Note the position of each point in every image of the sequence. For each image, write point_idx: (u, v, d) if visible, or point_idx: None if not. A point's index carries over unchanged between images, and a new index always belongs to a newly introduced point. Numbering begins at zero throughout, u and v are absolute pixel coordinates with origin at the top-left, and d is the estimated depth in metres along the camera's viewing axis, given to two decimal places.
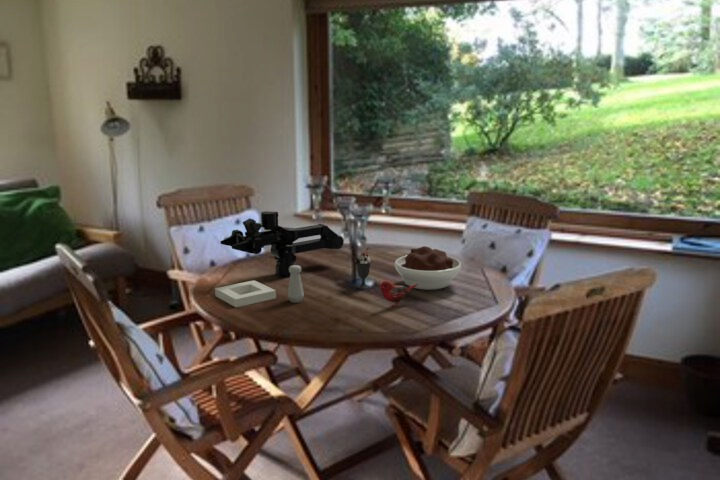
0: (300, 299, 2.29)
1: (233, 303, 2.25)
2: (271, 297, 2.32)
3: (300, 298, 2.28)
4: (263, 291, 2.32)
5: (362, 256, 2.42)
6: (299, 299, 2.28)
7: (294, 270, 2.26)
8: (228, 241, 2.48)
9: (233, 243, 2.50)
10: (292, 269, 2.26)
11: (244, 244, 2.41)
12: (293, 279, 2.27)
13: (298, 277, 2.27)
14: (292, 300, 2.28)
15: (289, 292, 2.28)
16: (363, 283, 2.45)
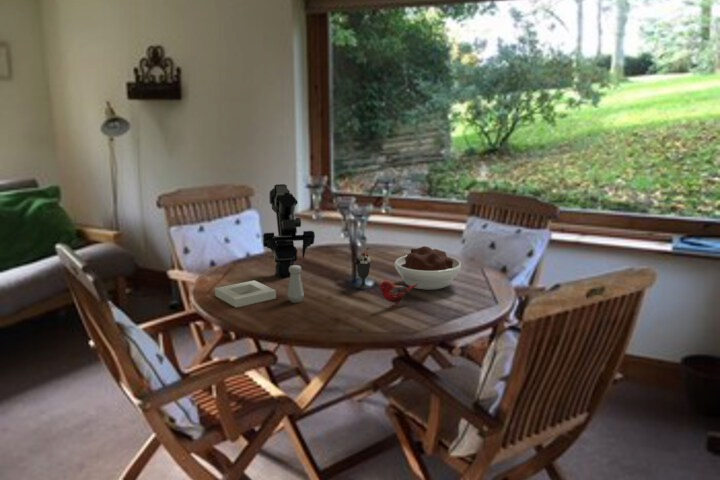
0: (300, 299, 2.29)
1: (233, 303, 2.25)
2: (271, 297, 2.32)
3: (300, 298, 2.28)
4: (263, 291, 2.32)
5: (362, 256, 2.42)
6: (299, 299, 2.28)
7: (294, 270, 2.26)
8: None
9: None
10: (292, 269, 2.26)
11: None
12: (293, 279, 2.27)
13: (298, 277, 2.27)
14: (292, 300, 2.28)
15: (289, 292, 2.28)
16: (363, 283, 2.45)
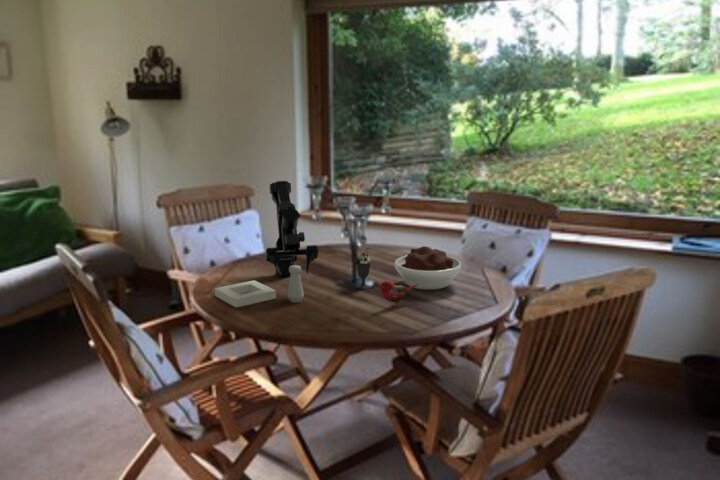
0: (300, 299, 2.29)
1: (233, 303, 2.25)
2: (271, 297, 2.32)
3: (300, 298, 2.28)
4: (263, 291, 2.32)
5: (362, 256, 2.42)
6: (299, 299, 2.28)
7: (294, 270, 2.26)
8: None
9: None
10: (292, 269, 2.26)
11: None
12: (293, 279, 2.27)
13: (298, 277, 2.27)
14: (292, 300, 2.28)
15: (289, 292, 2.28)
16: (363, 283, 2.45)
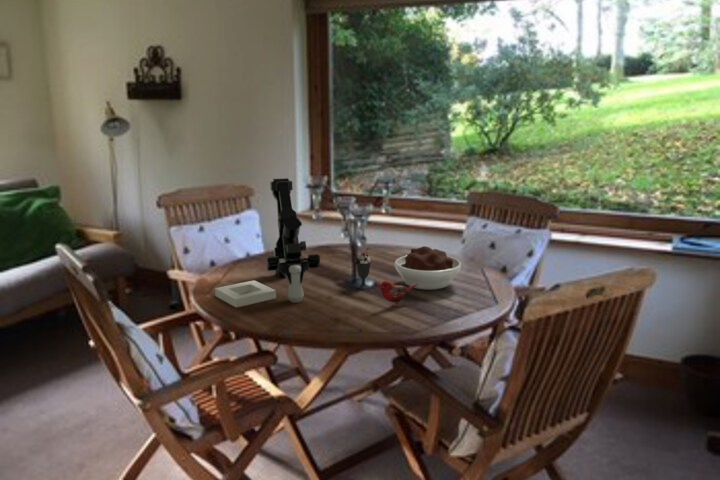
0: (300, 299, 2.29)
1: (233, 303, 2.25)
2: (271, 297, 2.32)
3: (300, 298, 2.28)
4: (263, 291, 2.32)
5: (362, 256, 2.42)
6: (299, 299, 2.28)
7: (294, 270, 2.26)
8: None
9: None
10: (292, 269, 2.26)
11: None
12: (293, 279, 2.27)
13: (298, 277, 2.27)
14: (292, 300, 2.28)
15: (289, 292, 2.28)
16: (363, 283, 2.45)
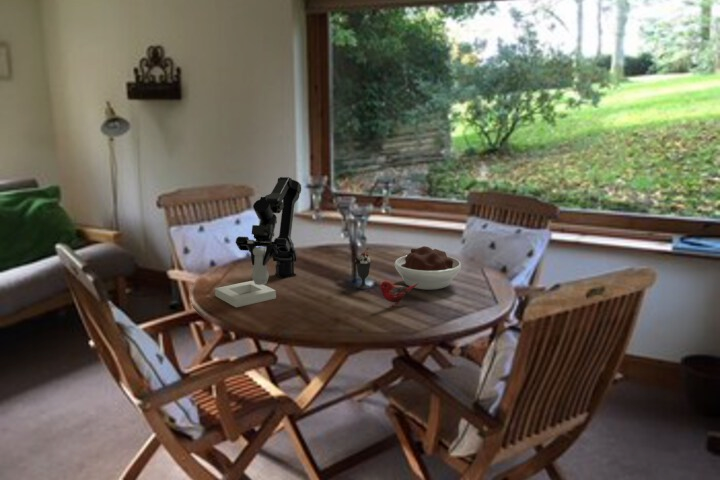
0: (262, 281, 2.29)
1: (233, 303, 2.25)
2: (271, 297, 2.32)
3: (262, 280, 2.28)
4: (263, 291, 2.32)
5: (362, 256, 2.42)
6: (261, 281, 2.28)
7: (255, 252, 2.26)
8: (254, 256, 2.30)
9: None
10: (254, 250, 2.27)
11: (269, 253, 2.29)
12: (255, 261, 2.28)
13: (260, 259, 2.27)
14: (255, 282, 2.29)
15: None
16: (363, 283, 2.45)
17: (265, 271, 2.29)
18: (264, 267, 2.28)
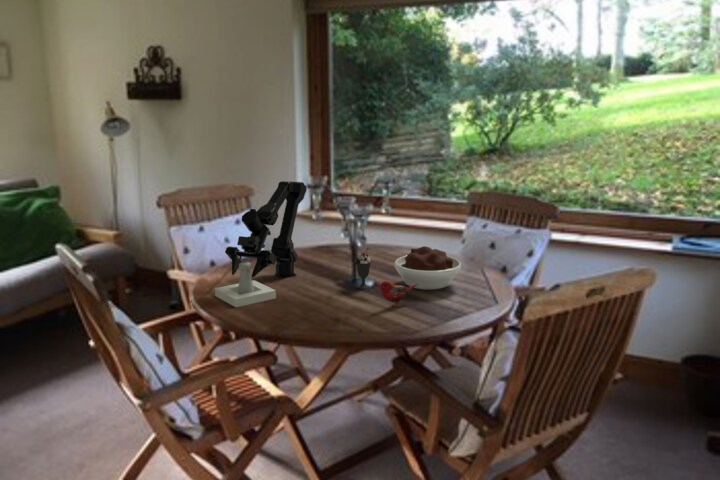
0: None
1: (233, 303, 2.25)
2: (271, 297, 2.32)
3: None
4: (263, 291, 2.32)
5: (362, 256, 2.42)
6: None
7: (240, 266, 2.31)
8: (235, 266, 2.35)
9: (238, 262, 2.37)
10: (239, 265, 2.31)
11: (259, 265, 2.31)
12: (240, 275, 2.32)
13: (245, 274, 2.31)
14: None
15: None
16: (363, 283, 2.45)
17: (250, 286, 2.32)
18: (249, 282, 2.32)
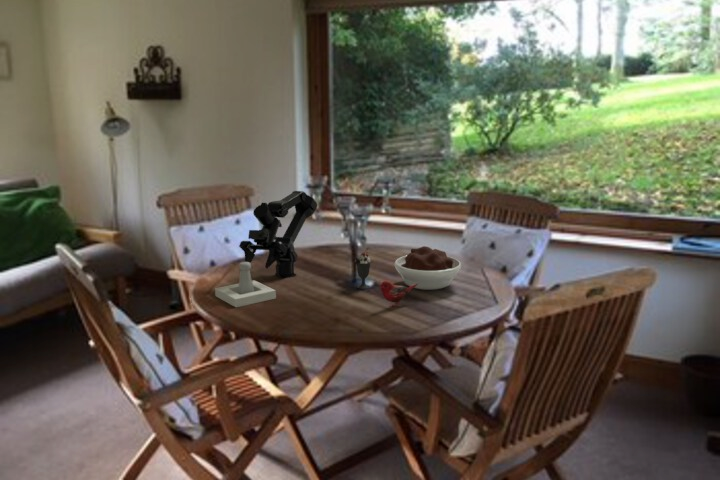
0: None
1: (233, 303, 2.25)
2: (271, 297, 2.32)
3: None
4: (263, 291, 2.32)
5: (362, 256, 2.42)
6: None
7: (240, 266, 2.31)
8: (249, 259, 2.44)
9: (251, 255, 2.46)
10: (239, 265, 2.31)
11: (271, 256, 2.39)
12: (240, 275, 2.32)
13: (245, 274, 2.31)
14: None
15: None
16: (363, 283, 2.45)
17: (250, 286, 2.32)
18: (249, 282, 2.32)
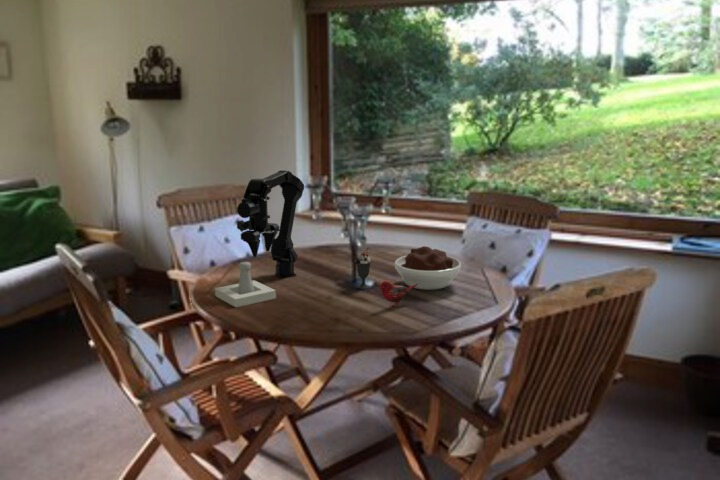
0: None
1: (233, 303, 2.25)
2: (271, 297, 2.32)
3: None
4: (263, 291, 2.32)
5: (362, 256, 2.42)
6: None
7: (240, 266, 2.31)
8: (267, 242, 2.47)
9: (270, 237, 2.46)
10: (239, 265, 2.31)
11: (251, 245, 2.38)
12: (240, 275, 2.32)
13: (245, 274, 2.31)
14: None
15: None
16: (363, 283, 2.45)
17: (250, 286, 2.32)
18: (249, 282, 2.32)
